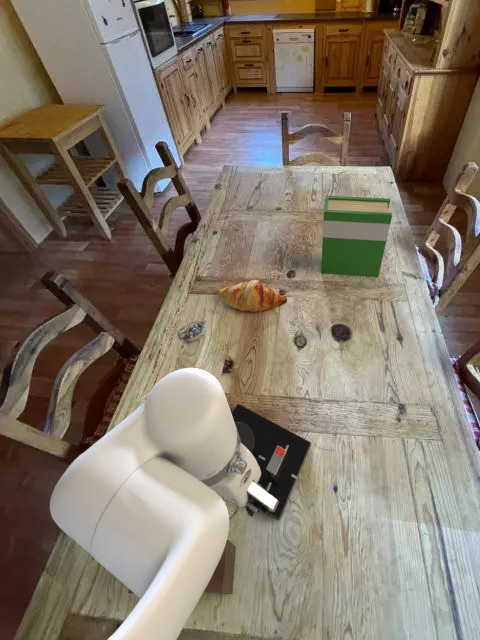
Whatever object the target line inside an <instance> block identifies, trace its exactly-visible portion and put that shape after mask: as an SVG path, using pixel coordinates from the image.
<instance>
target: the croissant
mask: <svg viewBox="0 0 480 640" xmlns="http://www.w3.org/2000/svg"><path fill="white" fill-rule="evenodd" d="M216 295H217V296H218V297H219V298H220V299H221V300H222V301H223V302H225V304H227V305H228V306H230V307H231V308H234V309H237V310H240V312H242V313H243V312H254V313H256V312H262V311H265V310H271V309H275V308H276V309H277V308H279V307H281V306H283V305H285V304H286V303H287V302H288V297H287V296H286V295H282V294H280V292H279V291H278V290H274V289H273V288H270V287H269V285H268V284H265V283H262V282H260V281H259V280H258V279H251V280H250V281H243V282H240V283H238V284H237V285H229V286H226V287H224V288H218V289H217V290H216Z"/></svg>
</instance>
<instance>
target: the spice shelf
mask: <svg viewBox="0 0 480 640" xmlns="http://www.w3.org/2000/svg"><path fill="white" fill-rule="evenodd" d="M236 551H237V546H236V545H235V544H234V543H233V542H231V541H230V540H229V539H228V538H227V541H226V545H225V548H224V551H223V553H222V556H221V558H220V561H219V563H218V565H217V567H216V569H215V571H214V573H213V575H212V577H211V579H210V581H209V583H208V585H207V587H206V588H205V590H204V592H203V594H224V595H232V594H233V593H234V591H233V590H234V580H235V579H234V578H235V567H236V566H235V565H236ZM127 594H134V595H136V594H135V593H133V592H132V591H131V590H130V589H129V588H128V590H127Z"/></svg>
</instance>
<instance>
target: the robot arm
mask: <svg viewBox="0 0 480 640" xmlns="http://www.w3.org/2000/svg"><path fill="white" fill-rule="evenodd" d="M260 476H261V470H260V467H259V465H258V463H257V461H256V459H255V458H254V456H253V455H252V454H251V452H250V451H249V450H248V449H247V448H246V447H245V446H244V445H243V444H242V443H241V442H240V437H239V434H238V431H237V428H236V426H235V423H234V420H233V417H232V411H231V408H230V405H229V403H228V400H227V396H226V394H225V391H224V388H223V387H222V385H221V382H220V381H219V380H218V379H217V378H216V377H215V376H214V375H213V374H212V373H211V372H208V371H207V370H205V369H202V368H197V367H184V368H179V369H176V370H173V371H171V372H170V373H168V374H166V375H165V376H163V377H162V378H161V379H159V380H158V381H157V382H156V383H155V384H154V386H153V387H152V388H151V389H150V391H149V392H148V394H147V396H146V398H145V400H144V401H143V403H141V404H140V405H139V406H138V407H137V408H135V410H133V411H132V412H131V413H130V414H129V415H127V416H126V417H125V418H124V419H123V420H122V421H120V422H119V423H118V424H117V425H116V426H114V427H113V428H112V429H110V430H109V431H108V432H107V433H106V434H104V435H103V436H102V437H101V438H99V439H98V440H97V441H96V442H94V443H93V444H91V446H90V447H89V448H87V449H86V450H85V451H84V452H82V453H81V454H79V455H78V456H77V457H76V458H75V459H74V460H73V461H72V462H71V463H70V465H69V466H68V467H67V468H66V470H65V472H64V473H63V474H62V475H61V477H60V478H59V479H58V481H57V483H56V484H55V486H54V489H53V491H52V493H51V496H50V499H49V500H50V501H49V512H50V515H51V518H52V520H53V522H54V523H55V524H56V525H57V526H58V527H59V529H60V530H61V531H63V533H65V534H66V535H67V536H69V538H71V539H72V540H73V541H74V542H75V543H77V544H78V546H80V548H82V549H84V551H86V552H87V553H88V554H90V555H91V557H92V558H93V559H94V560H95V561H97V563H98V564H100V565H101V566H102V567H103V568H104V569H106V570H107V572H109V573H110V574H111V575H112V576H113V577H115V579H117V580H118V581H120V582H121V583H122V584H123V585H124V586H126V588H128V590H129V589H130V590H131V591H132V592H133V593H135V594H134V595H136V596H137V597H138V598H139V601H138V602H137V604H136V605H135V606H134V608H133V609H132V611H131V612H130V613H129V615H128V616H127V617H126V618H125V620H124V621H123V622H122V623H121V624H120V626H119V627H118V628H117V629H116V630H115V631H114V633H112V634H111V636H109V637H108V639H106V640H177V639H178V638H179V636H180V634H181V633H182V630H183V629H184V627H185V625H186V624H187V622H188V621H189V619H190V617H191V615H192V614H193V611H194V610H195V608H196V606H197V604H198V603H199V601H200V599H201V597H202V595H203V594H204V593H203V592H204V590H205V588H206V587H207V585H208V583H209V581H210V579H211V577H212V575H213V573H214V571H215V569H216V567H217V565H218V563H219V561H220V558H221V556H222V553H223V551H224V548H225V545H226V541H227V539H228V537H229V532H230V514H229V510H228V508H227V504H226V502H225V501H224V500H227V501H228V502H230V503H233V504H234V505H235V506H237V507H239V508H243V507H245V510H246V513H247V514H248V516H249V517H251V518H253V517H254V515H255V514H257V513H260V512H261V513H263V514H266V513H267V514H269V513H268V511H271V512H275V510H276V508H277V505H278V503H279V501H278V500H277V499H276V498H274V497H273V496H272V495H271V494H269V493H268V492H267V491H266V490H265V489H264V488H263V487H262V486H261V485H260V484H258V483H257V482H258V481H259V478H260ZM249 495H251V498H250V500H248V497H249ZM133 593H132V594H133Z"/></svg>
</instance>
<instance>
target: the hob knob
mask: <svg viewBox="0 0 480 640" xmlns="http://www.w3.org/2000/svg"><path fill="white" fill-rule="evenodd" d="M287 459H288V458H287V450H285V449H283V448H281V447H280V446H277V447H276V450H275V452H274V454H273V456H272V458H271V460H270V462H269V464H268V466H267V468H266V471H267V474H268V477H270V478H272V479H273V480H275V481H278V478H279V476H280V474H281V472H282V470H283V467H284V465H285V463H286V461H287Z"/></svg>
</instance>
